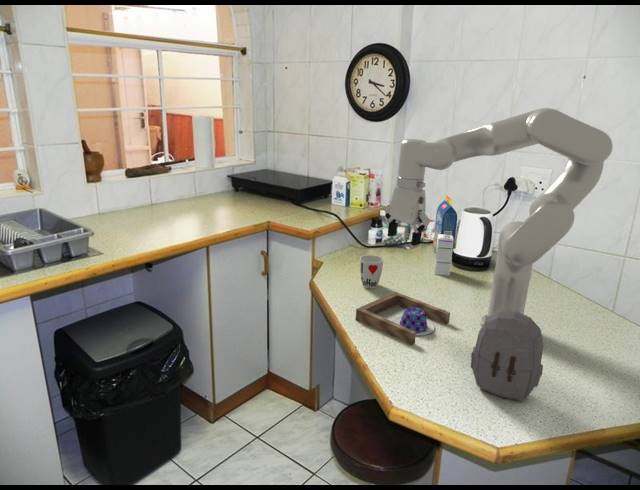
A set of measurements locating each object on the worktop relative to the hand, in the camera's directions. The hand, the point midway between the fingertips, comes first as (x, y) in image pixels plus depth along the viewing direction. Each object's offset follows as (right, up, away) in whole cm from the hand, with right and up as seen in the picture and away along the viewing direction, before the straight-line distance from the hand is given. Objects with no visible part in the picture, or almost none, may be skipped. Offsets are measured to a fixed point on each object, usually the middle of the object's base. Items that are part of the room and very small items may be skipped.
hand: (403, 240), depth 138 cm
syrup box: (+22, -12, +40) cm, 47 cm away
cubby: (0, -24, 0) cm, 24 cm away
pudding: (+2, -26, -3) cm, 26 cm away
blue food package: (+28, -5, +61) cm, 67 cm away
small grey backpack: (+16, -35, -32) cm, 51 cm away
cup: (-7, -16, +26) cm, 31 cm away
